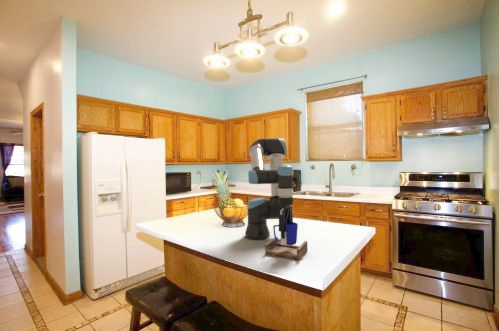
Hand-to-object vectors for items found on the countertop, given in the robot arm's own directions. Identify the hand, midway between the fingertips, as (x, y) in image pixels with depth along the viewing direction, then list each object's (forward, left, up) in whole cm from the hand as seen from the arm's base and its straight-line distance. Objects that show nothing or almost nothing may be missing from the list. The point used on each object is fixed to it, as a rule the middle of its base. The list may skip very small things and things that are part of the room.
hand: (286, 242), depth 125 cm
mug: (0, -1, -1) cm, 1 cm away
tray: (0, 0, -5) cm, 5 cm away
